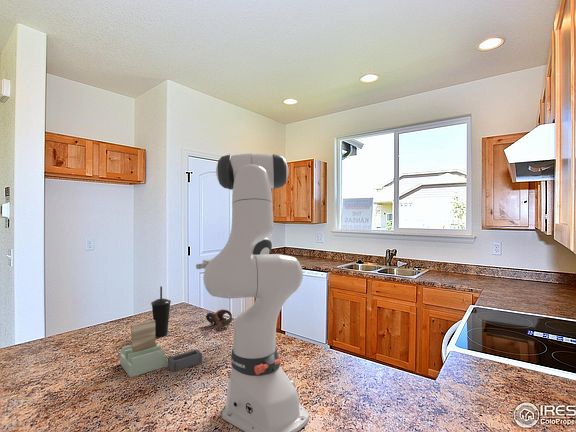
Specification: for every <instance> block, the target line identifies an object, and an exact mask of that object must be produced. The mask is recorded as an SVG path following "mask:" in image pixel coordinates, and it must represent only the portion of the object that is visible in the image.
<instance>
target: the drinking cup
mask: <svg viewBox="0 0 576 432" xmlns="http://www.w3.org/2000/svg"><path fill="white" fill-rule="evenodd" d="M159 290H160V292H159V295H160V296H159V297H160V298H158V299H155V300H153V301H151V302H150V305H151V309H152V320H155V338H157V337H158V338H161V337H166V336H167V335H168V332H169V322H170V321H169V320H170V309H171V303H172V300H170V299H167V298H163V286H162V285H161V286H160V287H159Z"/></svg>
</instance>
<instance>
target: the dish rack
mask: <svg viewBox="0 0 576 432" xmlns="http://www.w3.org/2000/svg"><path fill="white" fill-rule="evenodd" d="M165 353H166V349H165V348H163V349H162V346H161V345H158V342H156V341H155V347H153V348H149V349H146V350H142V351H138V352H134V353H131V344H130V345H129V344H128V345H125V346H122V347H121V353H120V354H119V364H120V366H121V367H122V369H123V370H124V371H125V372H126V374H127V375H128V377H129V378H133V377H137V376H140V375H144V374H145V373H150V372H152V371H156V370H159V369H163V368H165V367H168V355H167V354H165Z"/></svg>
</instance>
